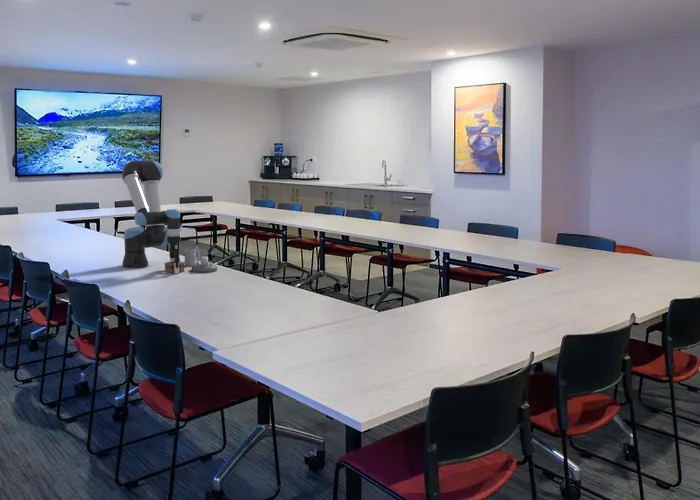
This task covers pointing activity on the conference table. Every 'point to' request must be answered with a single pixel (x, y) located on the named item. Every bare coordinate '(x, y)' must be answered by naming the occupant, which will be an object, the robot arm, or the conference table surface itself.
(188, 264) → the mug
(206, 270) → the flange base
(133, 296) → the conference table surface
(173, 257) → the robot arm
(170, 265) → the collar
